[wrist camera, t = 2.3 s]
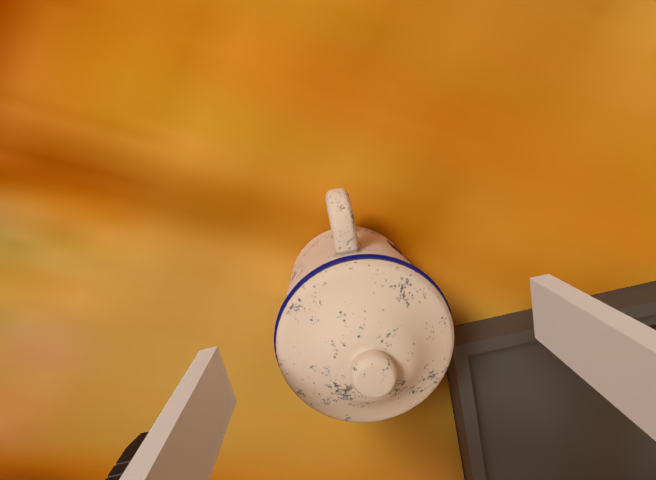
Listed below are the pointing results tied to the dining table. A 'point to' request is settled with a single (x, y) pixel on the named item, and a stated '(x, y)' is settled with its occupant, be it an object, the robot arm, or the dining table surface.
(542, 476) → the serving tray
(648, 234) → the dining table surface
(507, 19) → the dining table surface
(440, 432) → the dining table surface
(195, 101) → the dining table surface
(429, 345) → the teacup with lid
